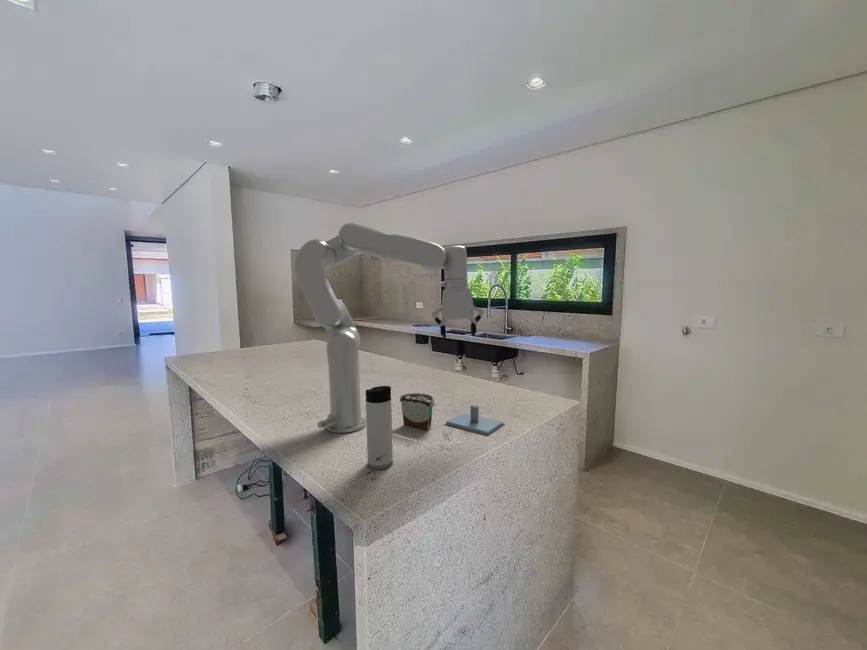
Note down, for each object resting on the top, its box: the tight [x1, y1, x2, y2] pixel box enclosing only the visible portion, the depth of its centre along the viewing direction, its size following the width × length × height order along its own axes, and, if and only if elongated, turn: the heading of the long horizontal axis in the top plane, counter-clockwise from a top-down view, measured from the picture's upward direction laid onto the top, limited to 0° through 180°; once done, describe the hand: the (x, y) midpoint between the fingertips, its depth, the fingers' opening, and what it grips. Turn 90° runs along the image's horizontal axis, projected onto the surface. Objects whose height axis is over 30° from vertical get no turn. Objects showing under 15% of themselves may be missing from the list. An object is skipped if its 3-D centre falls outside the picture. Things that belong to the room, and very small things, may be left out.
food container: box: [399, 392, 436, 432], centre depth 115 cm, size 12×6×10 cm, turn 58°
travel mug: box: [365, 385, 394, 471], centre depth 89 cm, size 6×7×20 cm
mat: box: [443, 422, 506, 437], centre depth 115 cm, size 12×16×1 cm
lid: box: [446, 404, 504, 435], centre depth 115 cm, size 10×15×6 cm, turn 53°
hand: (458, 336), depth 119 cm, fingers open, 9 cm apart
